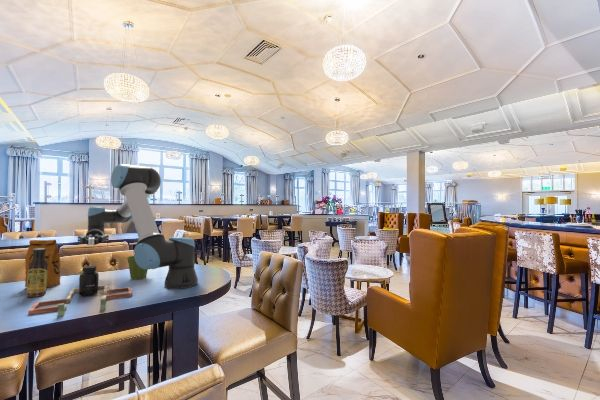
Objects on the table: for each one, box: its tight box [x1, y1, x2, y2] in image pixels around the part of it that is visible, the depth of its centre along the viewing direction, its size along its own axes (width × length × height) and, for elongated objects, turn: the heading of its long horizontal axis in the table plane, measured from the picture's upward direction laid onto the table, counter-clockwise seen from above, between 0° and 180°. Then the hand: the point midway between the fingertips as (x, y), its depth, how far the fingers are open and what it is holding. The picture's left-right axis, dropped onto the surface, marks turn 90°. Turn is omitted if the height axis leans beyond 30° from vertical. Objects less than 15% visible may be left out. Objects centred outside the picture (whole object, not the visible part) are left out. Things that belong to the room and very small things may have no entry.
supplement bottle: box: [78, 265, 100, 297], centre depth 127 cm, size 7×7×12 cm
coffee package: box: [24, 239, 62, 288], centre depth 140 cm, size 10×12×22 cm
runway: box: [28, 284, 133, 318], centre depth 119 cm, size 32×32×4 cm
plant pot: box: [125, 255, 149, 281], centre depth 155 cm, size 12×12×11 cm
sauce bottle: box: [26, 248, 48, 298], centre depth 125 cm, size 6×6×20 cm
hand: (90, 241), depth 133 cm, fingers closed
